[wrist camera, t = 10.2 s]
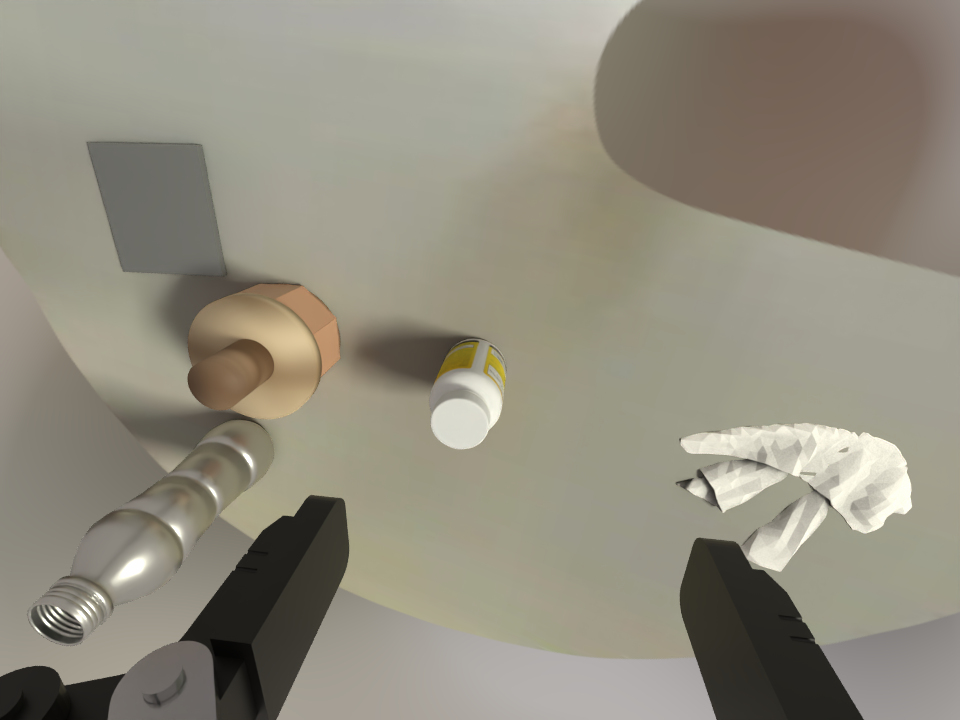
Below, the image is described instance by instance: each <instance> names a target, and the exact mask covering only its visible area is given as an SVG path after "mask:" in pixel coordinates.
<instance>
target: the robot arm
mask: <svg viewBox="0 0 960 720" xmlns="http://www.w3.org/2000/svg"><path fill="white" fill-rule="evenodd" d="M348 557H349V540H348V529H347V519H346V508H345V502H344V500H343V499H342V498H334V497H324V496H315V495H310V496H309V497H308V498H307V499H306V500H305V501H304V503H303V504H302V506H301V507H300V509H299V510H298V511H297V513H296V514H295V516H294V517H292V516H282V517H281V518H279V519H278V520H277V521H275V522H274V523H273V524H271V525H270V526H269V527H267V528H266V529H264V530H263V531H262V532H261V534H260V535H259V536H258V538H257V539H256V540H255V542H254V543H253V544H252V546H251V547H250V548H249V550H248V553H247V554H245V555H244V556H243V557H242V559H241V560H240V562H239V563H238V564H237V565H236V569H235V571H232V572H231V573H230V575H229V576H228V578H227V579H226V580H225V581H224V583H223V584H222V586H221V587H220V588H219V590H218V591H217V592H216V593H215V595H214V596H213V598H212V599H211V600H210V601H209V603H208V604H207V605H206V607H205V608H204V609H203V611H202V612H201V613H200V615H199V616H198V617H197V619H196V620H195V621H194V623H193V624H192V626H191V627H190V628H189V629H188V631H187V632H186V633H185V635H184V636H183V637H182V638H181V639H180V640H179V641H178V642H175V643H171V644H169V645H166V646H163V647H161V648H159V649H157V650H155V651H153V652H152V653H150V654H148V655H147V656H145V657H144V658H143V659H141V660H140V661H139V662H137V663H136V664H135V665H134V666H133V667H132V668H131V669H130V670H129V671H128V672H127V673H126V674H122V675H117V676H113V677H107V678H102V679H97V680H92V681H87V682H81V683H76V684H71V685H66V686H64V685H63V683H62V680H61V678H60V676H59V674H58V673H57V672H56V671H55V670H54V669H52V668H50V667H46V666H32V667H26V668H22V669H19V670H16V671H13V672H10V673H8V674H6V675H3V676H1V677H0V720H276V719H277V717H278V715H279V713H280V710H281V708H282V706H283V704H284V702H285V700H286V698H287V696H288V693H289V691H290V689H291V687H292V685H293V682H294V681H295V678H296V676H297V674H298V672H299V670H300V668H301V665H302V663H303V661H304V659H305V657H306V655H307V653H308V651H309V649H310V646H311V644H312V642H313V640H314V638H315V636H316V634H317V631H318V629H319V627H320V625H321V623H322V621H323V618H324V616H325V614H326V612H327V610H328V608H329V606H330V604H331V601H332V599H333V597H334V595H335V593H336V591H337V589H338V587H339V584H340V582H341V580H342V578H343V576H344V573H345V570H346V567H347V563H348ZM680 608H681V613H682V618H683V621H684V624H685V627H686V630H687V633H688V636H689V639H690V642H691V645H692V648H693V651H694V654H695V657H696V659H697V662H698V665H699V668H700V671H701V674H702V677H703V680H704V683H705V686H706V689H707V692H708V695H709V698H710V701H711V704H712V707H713V710H714V713H715V716H716V719H717V720H864V719H863V718H862V716H861V714H860V713H859V711H858V709H857V708H856V706H855V704H854V703H853V701H852V700H851V698H850V696H849V694H848V693H847V691H846V690H845V688H844V686H843V685H842V683H841V681H840V680H839V678H838V676H837V675H836V673H835V671H834V670H833V668H832V667H831V665H830V663H829V662H828V660H827V658H826V656H825V655H824V653H823V652H822V650H821V648H820V647H819V645H818V644H816V643H815V638H814V637H813V635H812V633H811V632H810V630H809V628H808V627H807V625H806V623H803V622H802V617H801V615H800V614H799V612H798V610H797V609H796V607H795V605H794V604H793V602H792V600H791V599H790V597H789V595H788V594H787V592H786V591H785V590H784V589H783V588H782V587H781V586H779V585H778V584H777V583H776V582H775V581H774V580H773V579H772V578H771V577H770V576H769V575H768V574H767V573H766V572H765V571H764V570H756V569H752V567H751V566H750V564H749V562H748V560H747V558H746V557H745V555H744V553H743V551H742V549H741V548H740V546H739V545H738V544H737V543H736V542H734V541H725V540H716V539H706V538H697V539H696V540H695V542H694V544H693V547H692V550H691V554H690V557H689V561H688V564H687V567H686V571H685V574H684V578H683V581H682V584H681V589H680Z"/></svg>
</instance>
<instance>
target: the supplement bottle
mask: <svg viewBox="0 0 960 720" xmlns="http://www.w3.org/2000/svg"><path fill="white" fill-rule="evenodd" d="M505 378H506V363H505V359H504V357H503V355H502V353H501V352H500V351H499V349H498V348H497V347H495V346H494V345H493V344H491V343H490V342H487V341H485V340H481V339H467V340H463V341H461V342H459V343H457V344H456V345H454V346H453V347H452V348H451V349H450V351H449V352H448V354H447V356H446V358H445V360H444V362H443V364H442V366H441V369H440V371H439V373H438V375H437V378H436V380H435V382H434V385H433V387H432V390H431V393H430V398H429V406H430V410H431V413H432V415H431V428H432V431H433V433H434V435H435V436H436V438H437V439H438V440H439V441H441V442H442V443H443V444H445V445H447V446H449V447H452V448H455V449H468V448H472V447H474V446H476V445H478V444H479V443H481V442H482V441H483V440H484V438H485V437H486V435H487V433H488V430H489V429H490V428H491V427H493V425H494V424H495V423H496V422H497V420H498V418H499V416H500V413H501V409H502V402H503V394H504V386H505Z"/></svg>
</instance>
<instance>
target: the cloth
mask: <svg viewBox="0 0 960 720" xmlns="http://www.w3.org/2000/svg"><path fill="white" fill-rule="evenodd" d="M680 444H681V446H682V447H683V448H684V449H685V450H686V451H687V452H688V453H692V454H721V455H732V456H736V457H740V458H747V459H744V460H732V461H725V462H720V463H716V464H713V465H710V466H707V467H703V468H700V470H701V471H702V473H703V474H704V477H703V478H693V479H692V480H691V481H688V480H687V481H683V482H679V483H676V485H679V486H681V487H683V488H685V489H687V490H688V491H690V492H691V493H692V494H694V495H696V496H698V497H701V498H704V499H705V500H707V501H708V502H710V503H712V504H714V505H716V506H717V507H718V508H719V509H720V510H721V511H722V512H723V513H724V512H725V511H726V510H727V509H730V508H732V507H735V506H737V505H740V504H742V503H744V502H745V501H747V500H749V499H751V498H752V497H754V496H755V495H757V494H758V493H760V492H761V491H762V490H764V489H765V488H766V487H768V486H771V485H773V484H775V483H777V482H779V481H781V480H783V479H784V478H785V477H786V476H788V475H789V474H792V475H794V476H797V477H798V476H800V477H801V478H802V479H803V480H805V481H807V482H808V483H809V484H810V485H811V486H812V487H813V488H814V489H815V490H814V491H812V492H810V493H809V494H807V495H805V496H803V497H801V498H799V499H798V500H796V501H794V502H793V503H792V504H791V505H789V506H788V507H787V508H786V509H785V510H784V511H783V512H782V513H780V514H779V515H777V516H776V517H775V518H774V519H773V520H772V522H770V523H768V524H766V525H764V526H762V527H760V528H758V529H757V530H756V531H755V532H754V534H753V535H752V536H751V537H750V538H749V539H748V540H747V541H746V542H745V544H744V545H743V546H741V547H740V548H741V549H742V551H743V553H744V555H745V557H746V558H747V559H748V560H750V561H752V562H754V563H756V564H758V565H760V566H762V567H766V568H769V569H773V570H776V571H780V572H781V571H782V569H783V568H784V566H785V565H786V564H787V562H788V561H789V560H790V558H791V557H792V556H793V555H794V553H795V552H796V551H797V550H798V548H799V547H800V546H801V545H802V544H803V543H804V542H805V541H806V540H807V539H808V538H809V537H810V536H811V534H812V533H813V532H814V531H815V530H816V529H817V527H818V526H819V525H820V524H821V523H822V521H823V520H824V519H825V517H826V515H827V510H828V506H829V504H830V503H831V506H832V507H834V508H835V509H836V510H837V511H838V512H839V513H840V514H841V515H842V516H843V517H844V518H845V520H846V522H847V523H848V524H849V525H850V527H851V528H852V530H858V531H860V532H862V533H864V534H866V533H869V532H871V531H874V530H877V529H878V528H880V527H882V526H883V525H884V521H885V519H886V518H887V516H889V515H890V514H892V513H893V512H895V513H900V514H905V513H906V512H907V511H908V510H909V509H911V508H912V504H911V499H910V495H911V483H910V479H909V477H908V475H907V473H906V472H907V467H905V465H906V464H907V463H906V461H905V459H904V458H903V456H902V455H901V452H900V450H899V449H898V448H897V447H896V446H895V445H894V444H892V443H889V442H887V441H885V440H883V439H880V438H877V437H872V436H871V435H869V434H868V433H865V432H863V433H862V434H861V435H860V436H859V437H858V436H857V435H856V434H855V433H854V432H852V433H850V432H849V431H847V430H844V429H838V430H837V428H834V427H828V426H821V425H817V424H809V423H803V424H795V423H794V424H774V425H770V426H758V427H757V426H751V427H738V428H734V429H728V430H721V431H718V432H709V433H708V432H703V433H700V434H694V435H690V436H687V437H683V438H681V443H680ZM845 447H849V449H848V452H845V453H841V452H838V451H840V450H842V449H843V448H845ZM828 464H829V466H828ZM801 471H802V472H816V476H809V475H802V474H800V472H801Z"/></svg>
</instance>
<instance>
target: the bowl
mask: <svg viewBox="0 0 960 720" xmlns="http://www.w3.org/2000/svg"><path fill="white" fill-rule="evenodd" d="M238 293H254V294H260V295H264V296H267V297H270V298H273V299H275V300H277V301H279V302H281V303H283V304H284V305H286V306H287V307H289V308H290V309H291V310H293V311H294V312H295V313H296V314H297V315H298V316H299V317H300V318H301V319H302V320H303V321H304V322H305V323H306V325H307V326H308V327H309V329H310V330H311V332H312V333H313V335H314V337H315V339H316V341H317V344H318V347H319V350H320V354H321V359H322V373H321V377H322V376H323V375H324V374H325V373H326V372H327V371H328V370H329V369H330V368H331V367H332V366H333V365H334V364H335V363H336V362H337V361H338V360H339V359H340V351H339V350H340V334H339V329H338V326H337V321H336V317H335V316H334V315H333V314H332V313H331V311H330V310H329V309H328V307H327V306H326V305H325V304H324V303H323V302H322V301H321V300H320V299H319V298H318V297H317V296H315V295H314V294H312V293H311V292H309V291H308V290H306V289H305V288H304V287H303V286H298V285H291V284H258V285H255V286H253V287H250V288H248V289H245V290H243V291H240V292H238ZM238 293H235V294H238Z"/></svg>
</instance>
